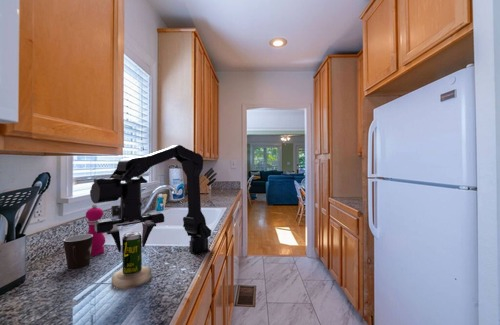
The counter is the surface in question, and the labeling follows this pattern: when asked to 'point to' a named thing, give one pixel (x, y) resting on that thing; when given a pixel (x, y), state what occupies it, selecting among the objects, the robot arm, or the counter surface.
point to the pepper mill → (98, 238)
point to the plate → (131, 279)
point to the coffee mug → (78, 250)
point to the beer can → (132, 253)
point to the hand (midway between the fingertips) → (131, 249)
